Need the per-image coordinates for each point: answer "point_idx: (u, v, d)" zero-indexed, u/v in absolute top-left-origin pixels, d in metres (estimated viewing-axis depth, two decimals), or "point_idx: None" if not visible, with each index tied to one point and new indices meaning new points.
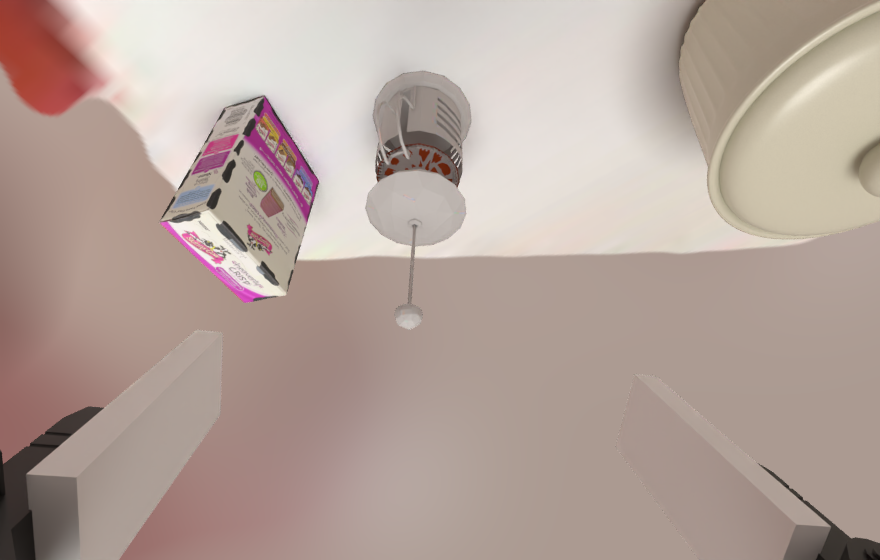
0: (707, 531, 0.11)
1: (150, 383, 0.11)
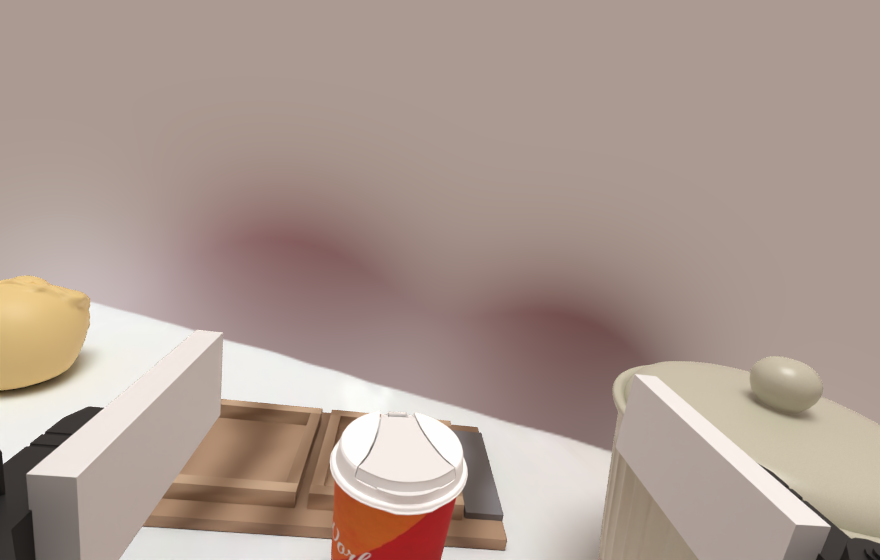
0: (707, 531, 0.11)
1: (150, 383, 0.11)
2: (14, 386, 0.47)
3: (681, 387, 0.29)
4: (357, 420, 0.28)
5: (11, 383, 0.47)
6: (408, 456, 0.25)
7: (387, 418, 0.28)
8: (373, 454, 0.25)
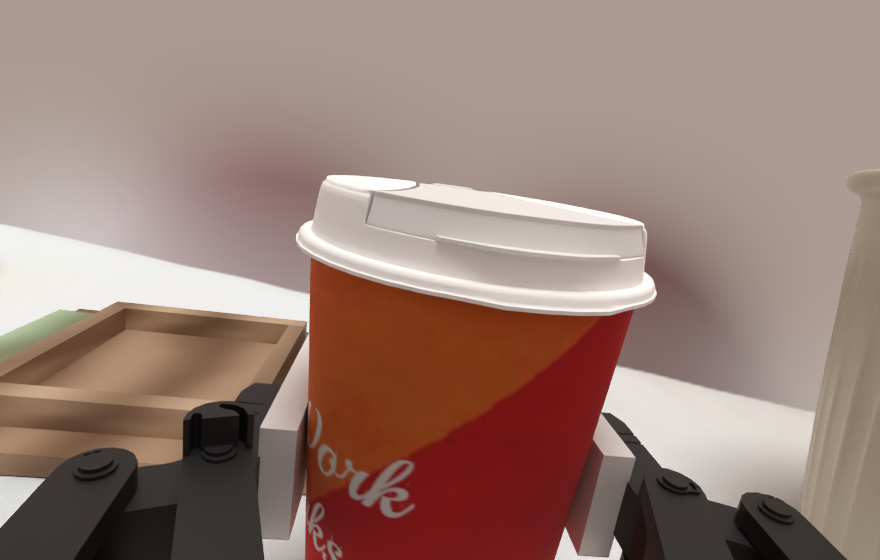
0: None
1: (306, 363, 0.13)
2: None
3: None
4: (365, 176, 0.12)
5: None
6: (507, 204, 0.09)
7: (433, 186, 0.12)
8: (414, 192, 0.09)
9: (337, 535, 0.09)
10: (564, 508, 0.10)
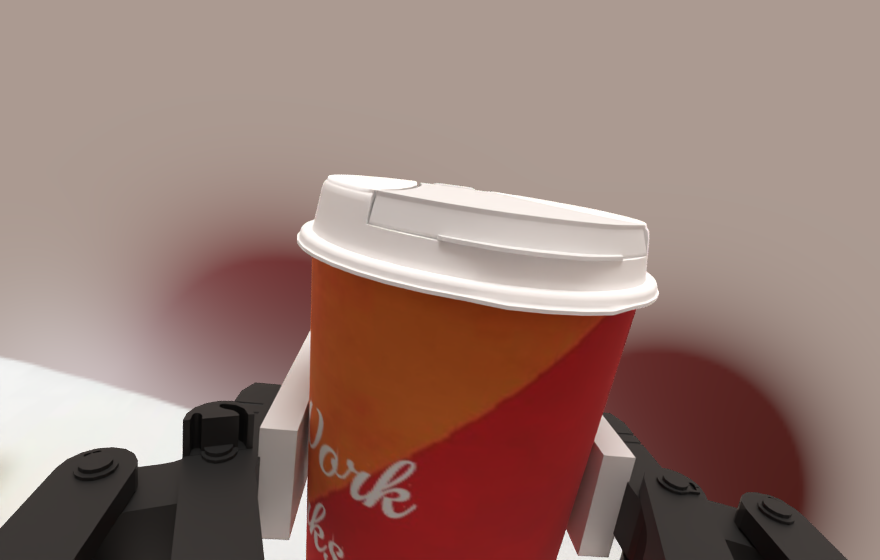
0: None
1: (306, 363, 0.13)
2: None
3: None
4: (367, 176, 0.12)
5: None
6: (510, 203, 0.09)
7: (434, 185, 0.12)
8: (416, 191, 0.09)
9: (338, 536, 0.09)
10: (566, 508, 0.10)
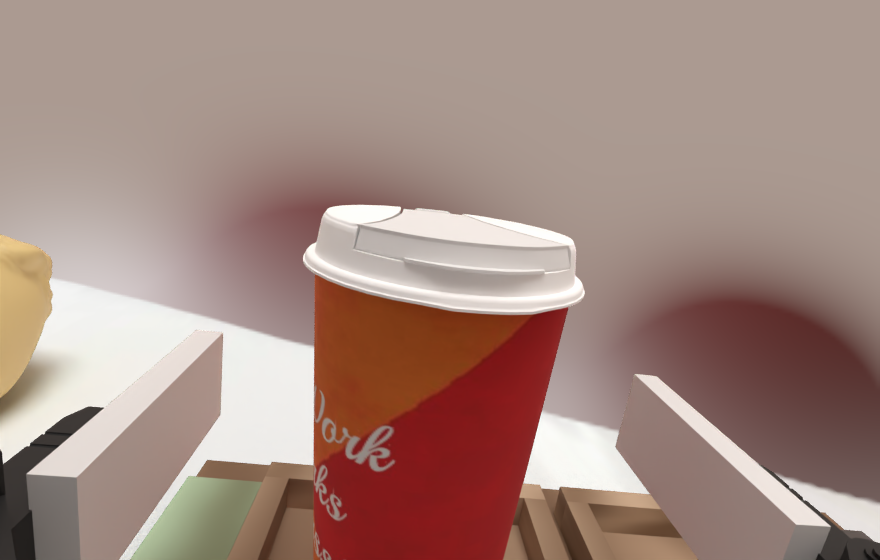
0: (707, 531, 0.11)
1: (150, 383, 0.11)
2: None
3: None
4: (359, 205, 0.14)
5: None
6: (466, 229, 0.12)
7: (415, 211, 0.15)
8: (393, 222, 0.12)
9: (337, 489, 0.12)
10: (516, 468, 0.12)
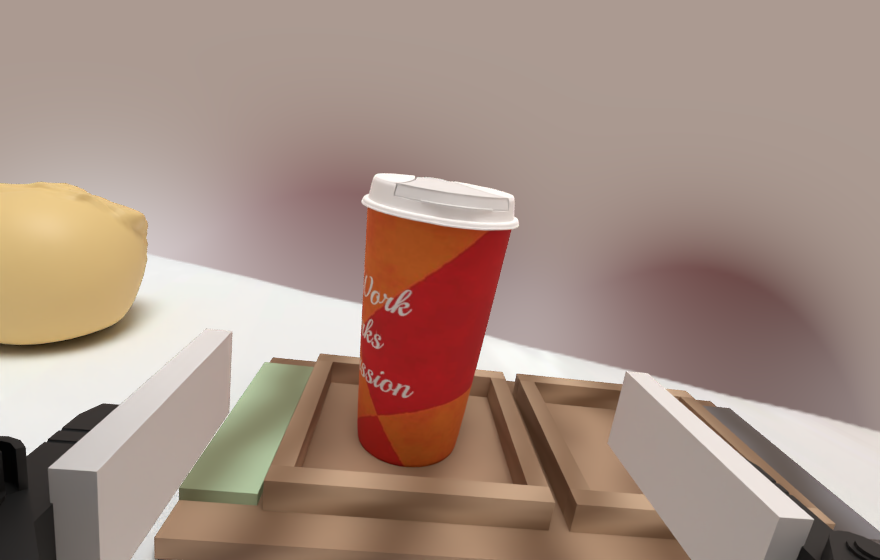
0: (695, 525, 0.11)
1: (163, 380, 0.11)
2: (47, 338, 0.31)
3: None
4: (390, 174, 0.24)
5: (43, 333, 0.31)
6: (453, 188, 0.22)
7: (423, 178, 0.25)
8: (413, 182, 0.21)
9: (379, 330, 0.22)
10: (477, 322, 0.22)
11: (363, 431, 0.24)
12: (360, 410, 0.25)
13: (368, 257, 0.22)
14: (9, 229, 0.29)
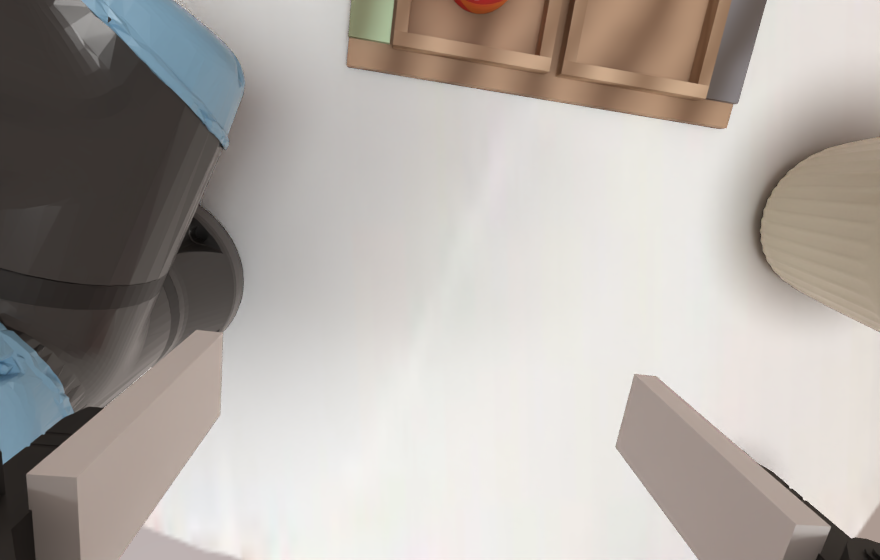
0: (707, 531, 0.11)
1: (150, 383, 0.11)
2: None
3: None
4: None
5: None
6: None
7: None
8: None
9: None
10: None
11: None
12: None
13: None
14: None
